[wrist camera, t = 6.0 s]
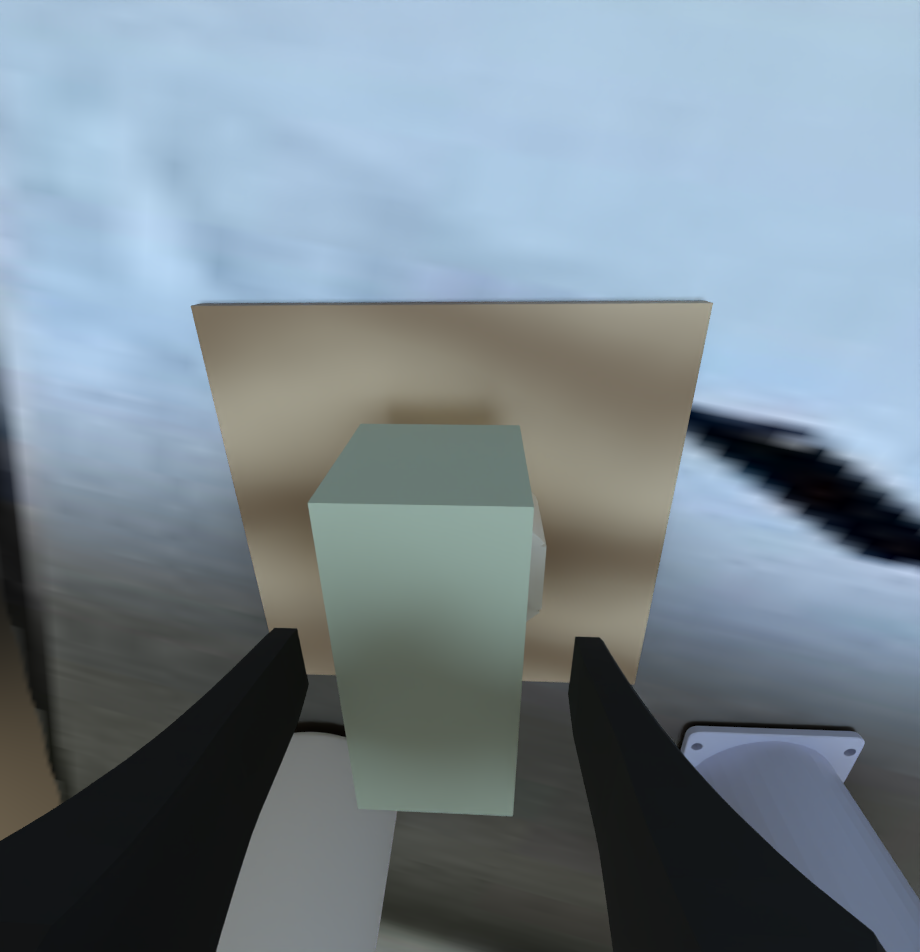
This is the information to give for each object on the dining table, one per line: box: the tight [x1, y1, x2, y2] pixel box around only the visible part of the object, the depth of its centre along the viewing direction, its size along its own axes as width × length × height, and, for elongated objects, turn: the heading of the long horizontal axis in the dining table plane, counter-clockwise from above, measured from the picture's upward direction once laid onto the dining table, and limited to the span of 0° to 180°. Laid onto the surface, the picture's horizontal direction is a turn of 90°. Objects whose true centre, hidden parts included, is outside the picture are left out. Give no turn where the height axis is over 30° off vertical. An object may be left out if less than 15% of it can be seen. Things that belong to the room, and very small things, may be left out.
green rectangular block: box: [308, 424, 534, 816], centre depth 14 cm, size 10×4×4 cm, turn 0°
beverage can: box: [216, 732, 397, 952], centre depth 21 cm, size 8×8×12 cm
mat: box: [191, 301, 713, 684], centre depth 19 cm, size 16×16×1 cm
